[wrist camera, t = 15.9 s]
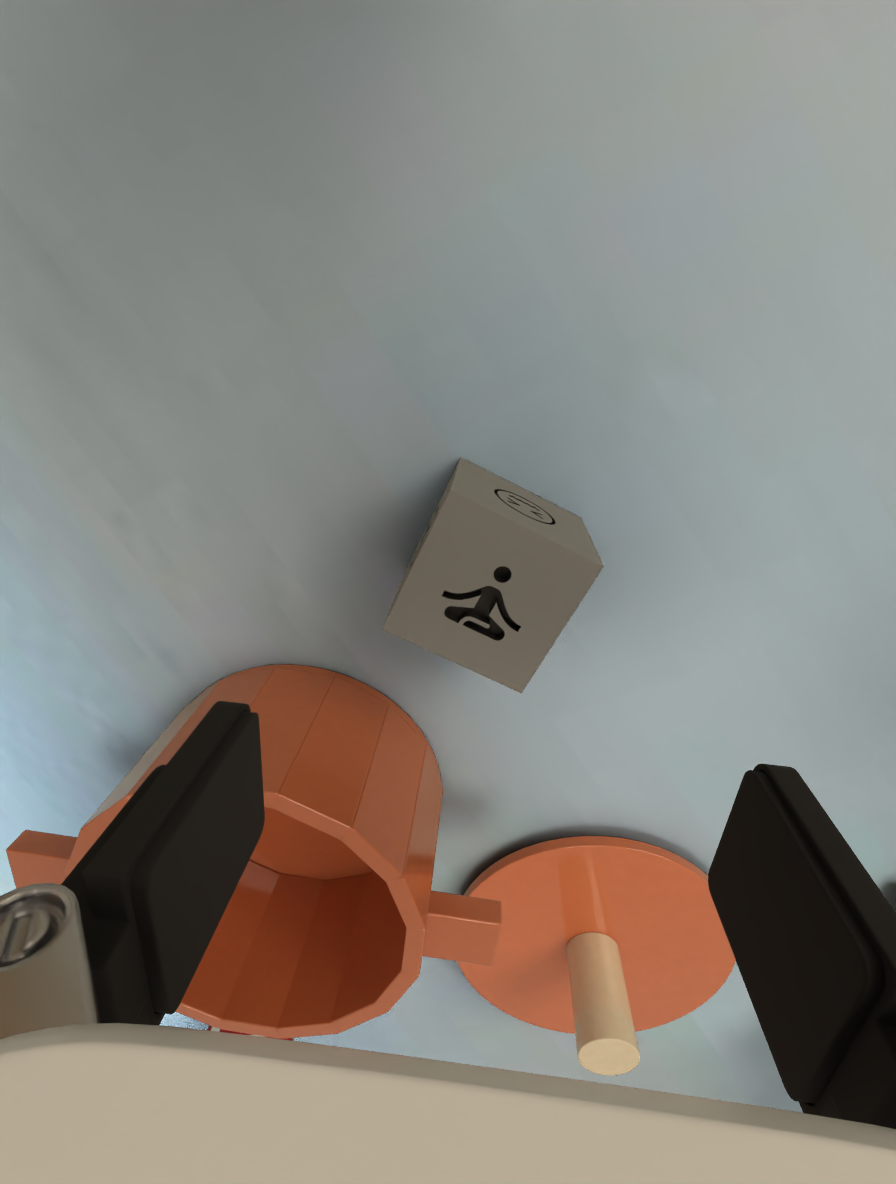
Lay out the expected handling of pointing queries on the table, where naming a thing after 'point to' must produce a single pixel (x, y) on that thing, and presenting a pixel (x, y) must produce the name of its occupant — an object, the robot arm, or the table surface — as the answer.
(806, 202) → the table surface
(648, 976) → the lid
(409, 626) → the dice cube
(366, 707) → the pot
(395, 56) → the table surface
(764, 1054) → the table surface
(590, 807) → the table surface
